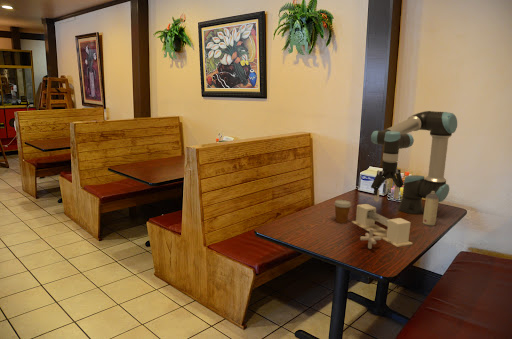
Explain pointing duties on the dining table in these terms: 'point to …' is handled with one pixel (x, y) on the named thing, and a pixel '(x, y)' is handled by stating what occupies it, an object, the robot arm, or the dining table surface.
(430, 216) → the aerosol can
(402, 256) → the dining table surface
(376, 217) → the tube
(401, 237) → the socket
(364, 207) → the sleeve
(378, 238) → the pipe connector
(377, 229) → the board
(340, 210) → the disposable coffee cup
